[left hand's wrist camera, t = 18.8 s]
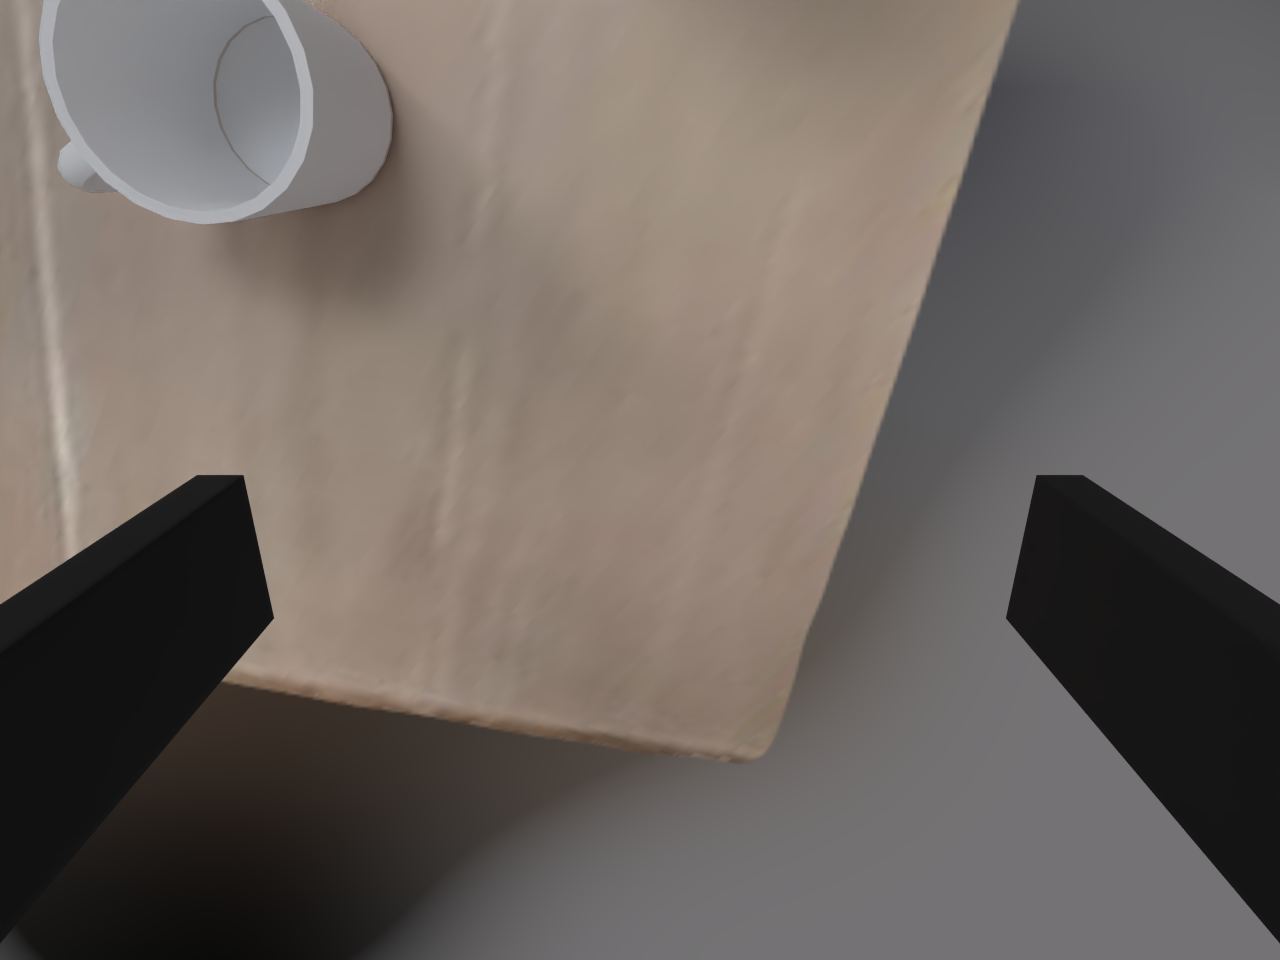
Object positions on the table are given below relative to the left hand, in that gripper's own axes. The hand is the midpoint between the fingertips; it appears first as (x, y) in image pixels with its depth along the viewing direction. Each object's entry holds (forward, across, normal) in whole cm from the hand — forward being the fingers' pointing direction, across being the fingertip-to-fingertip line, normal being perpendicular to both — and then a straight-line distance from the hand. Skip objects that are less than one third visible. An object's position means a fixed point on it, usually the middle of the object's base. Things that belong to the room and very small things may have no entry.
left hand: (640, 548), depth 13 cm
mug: (+27, +16, -8) cm, 33 cm away
